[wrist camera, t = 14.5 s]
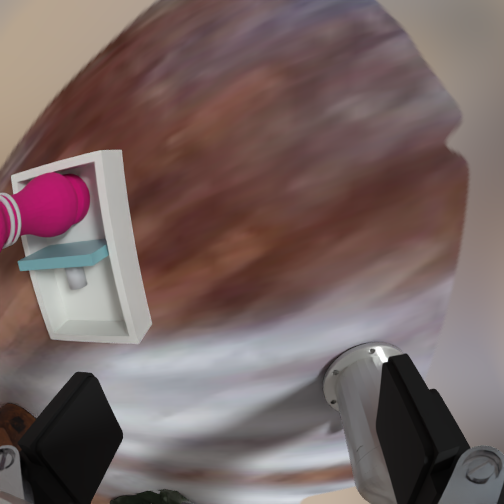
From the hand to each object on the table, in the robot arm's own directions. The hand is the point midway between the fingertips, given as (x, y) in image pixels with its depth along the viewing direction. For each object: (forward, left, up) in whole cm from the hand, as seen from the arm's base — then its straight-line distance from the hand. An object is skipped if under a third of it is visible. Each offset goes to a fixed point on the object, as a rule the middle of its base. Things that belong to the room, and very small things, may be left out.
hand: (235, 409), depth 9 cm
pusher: (-2, +22, -27) cm, 35 cm away
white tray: (-1, +22, -28) cm, 35 cm away
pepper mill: (+6, +23, -27) cm, 36 cm away
